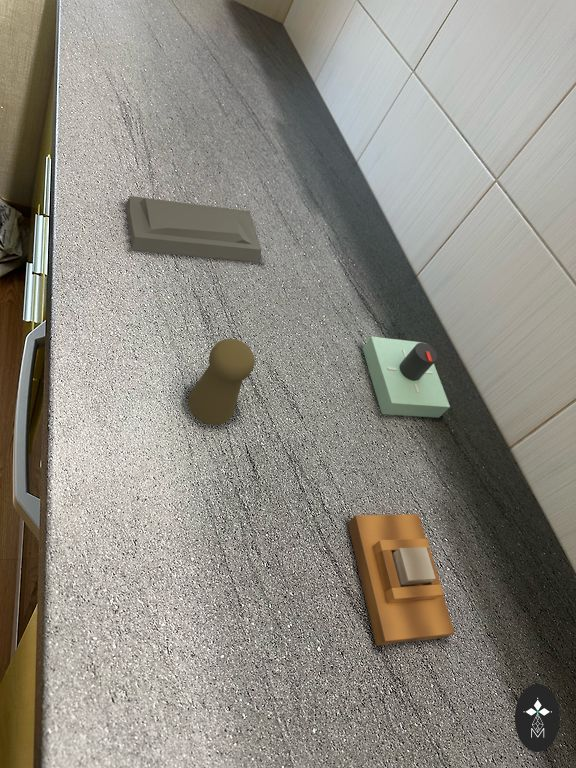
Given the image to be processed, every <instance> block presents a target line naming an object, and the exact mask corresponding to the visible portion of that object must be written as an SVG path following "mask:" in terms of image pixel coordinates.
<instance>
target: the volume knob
mask: <svg viewBox="0 0 576 768" xmlns="http://www.w3.org/2000/svg"><path fill="white" fill-rule="evenodd" d="M437 361H438V354H437V352H436V349H434V347H433V346H431V345H430V344H428V343H426V342H422V343H418V344H416V346H415V347H414V348H413V349H412V350H411V352H410V353H409V354H408V355H407V356H406V357H405V359H404V360H403V361H402V362H401V364H400V371H401V373H402V374H403V375H404V376H405V377H406V378H408V379H410V380H413V381H416V380H419V379H420V378H421V377H422V376H423V375H424V374H425V372H426V371H427V370H428V369H429V368H430V367H431V366H432V365H433V364H434V365H435V363H436V362H437Z"/></svg>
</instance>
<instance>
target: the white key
mask: <svg viewBox="0 0 576 768" xmlns="http://www.w3.org/2000/svg"><path fill="white" fill-rule="evenodd" d="M392 554H393V558H394V562H395V566H396V569H397V573H398V577H399V581H400V585H413V584H426V583H429V582H431V581H433V580H434V579H436V578H435V574H434V571H433V568H432V564H431V561H430V558H429V554H428V551H427V548H426V547H415V548H399V549H398V550H396V551H395V552H394V553H392Z"/></svg>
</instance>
